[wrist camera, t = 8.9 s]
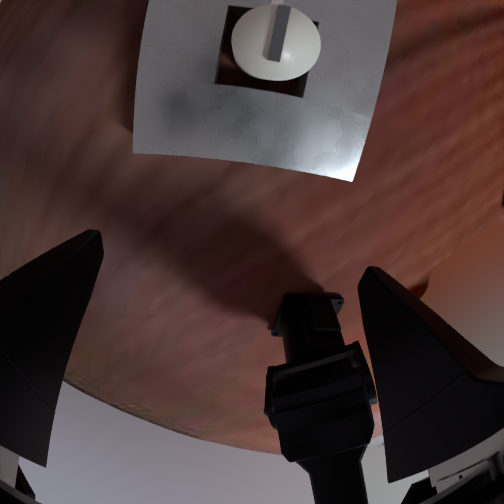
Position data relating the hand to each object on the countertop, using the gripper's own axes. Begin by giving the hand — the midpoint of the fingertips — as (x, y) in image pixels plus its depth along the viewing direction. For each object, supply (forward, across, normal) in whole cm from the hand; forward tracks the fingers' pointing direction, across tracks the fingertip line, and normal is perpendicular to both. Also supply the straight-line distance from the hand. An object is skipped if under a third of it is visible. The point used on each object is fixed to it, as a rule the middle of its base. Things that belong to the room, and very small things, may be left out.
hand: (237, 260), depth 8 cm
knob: (+12, 0, -7) cm, 14 cm away
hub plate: (+12, 0, -7) cm, 14 cm away
